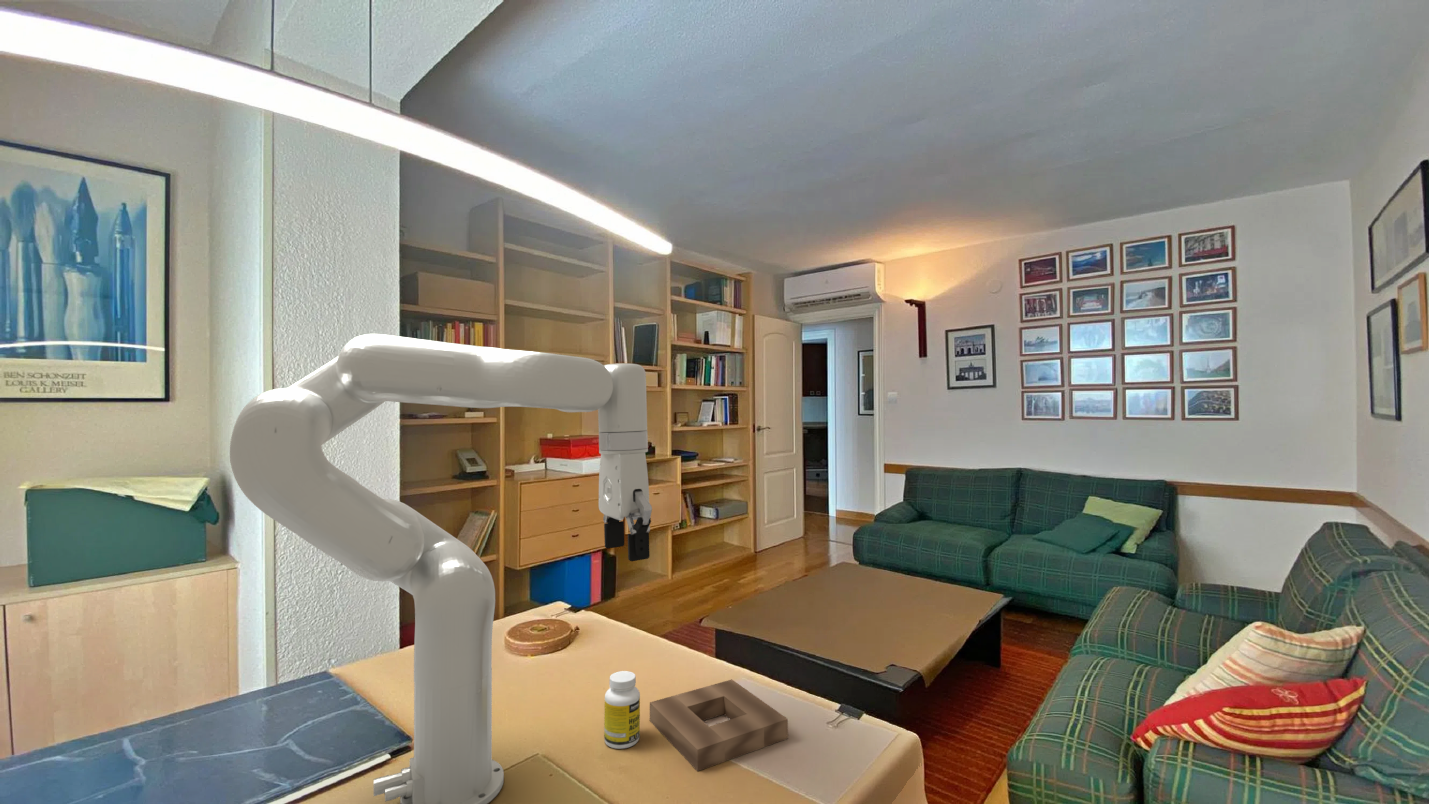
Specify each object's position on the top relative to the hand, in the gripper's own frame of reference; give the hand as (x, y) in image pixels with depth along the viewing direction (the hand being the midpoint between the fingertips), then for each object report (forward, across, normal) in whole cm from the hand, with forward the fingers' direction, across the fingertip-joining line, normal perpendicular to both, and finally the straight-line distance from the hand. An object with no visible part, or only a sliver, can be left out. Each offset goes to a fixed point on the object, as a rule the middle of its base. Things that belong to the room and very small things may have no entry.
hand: (626, 553), depth 92 cm
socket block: (+29, +5, +13) cm, 32 cm away
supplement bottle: (+29, 0, -1) cm, 29 cm away
